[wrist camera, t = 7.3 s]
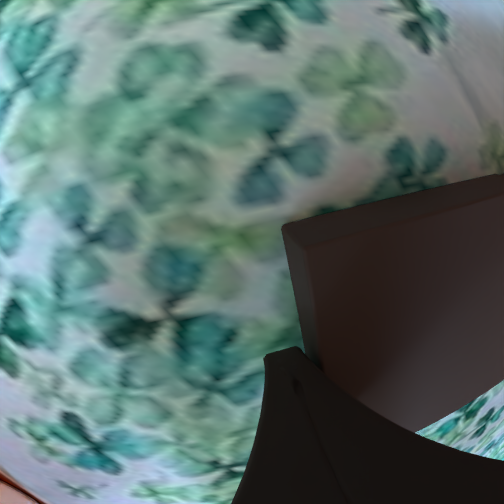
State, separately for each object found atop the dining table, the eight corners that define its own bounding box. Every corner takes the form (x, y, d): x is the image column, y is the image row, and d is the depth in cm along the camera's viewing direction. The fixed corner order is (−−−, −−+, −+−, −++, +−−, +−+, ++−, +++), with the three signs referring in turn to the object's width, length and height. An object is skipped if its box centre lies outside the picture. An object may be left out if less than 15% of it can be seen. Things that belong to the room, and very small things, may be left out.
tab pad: (506, 338, 11) (532, 358, 9) (317, 428, 11) (333, 467, 9) (522, 167, 9) (560, 175, 7) (279, 224, 8) (301, 248, 6)
